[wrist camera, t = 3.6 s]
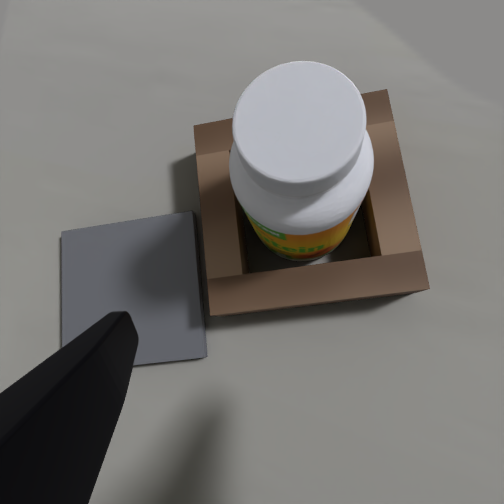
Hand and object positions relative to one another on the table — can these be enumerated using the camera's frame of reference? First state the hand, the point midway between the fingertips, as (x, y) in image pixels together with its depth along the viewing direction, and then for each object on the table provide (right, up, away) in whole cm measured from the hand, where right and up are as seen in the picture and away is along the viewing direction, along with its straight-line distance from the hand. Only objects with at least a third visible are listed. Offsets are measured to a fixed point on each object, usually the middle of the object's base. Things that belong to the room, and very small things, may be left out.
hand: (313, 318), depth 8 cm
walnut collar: (+1, +4, +12) cm, 12 cm away
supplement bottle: (+1, +4, +12) cm, 12 cm away
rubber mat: (-8, -1, +12) cm, 15 cm away
